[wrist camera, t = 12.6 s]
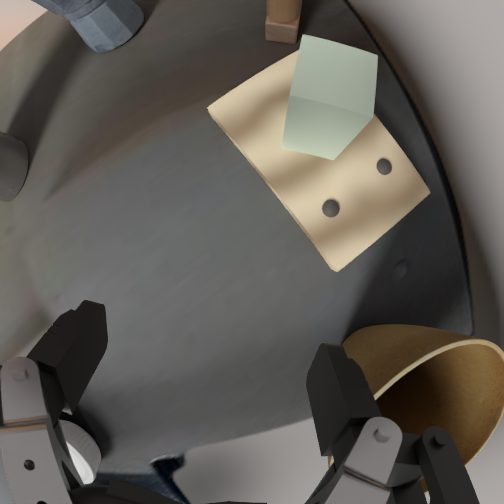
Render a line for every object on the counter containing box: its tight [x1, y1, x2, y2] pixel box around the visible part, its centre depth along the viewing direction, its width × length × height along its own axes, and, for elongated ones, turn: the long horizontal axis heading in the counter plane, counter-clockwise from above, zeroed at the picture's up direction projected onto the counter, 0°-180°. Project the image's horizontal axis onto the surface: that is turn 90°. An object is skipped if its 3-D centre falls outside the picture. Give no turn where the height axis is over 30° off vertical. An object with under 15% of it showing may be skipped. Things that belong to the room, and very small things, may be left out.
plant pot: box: [328, 324, 504, 504], centre depth 21 cm, size 15×15×16 cm
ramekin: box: [60, 420, 101, 484], centre depth 30 cm, size 11×11×5 cm
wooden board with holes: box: [207, 50, 431, 272], centre depth 25 cm, size 20×13×6 cm, turn 38°
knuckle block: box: [281, 35, 378, 160], centre depth 20 cm, size 5×5×11 cm
